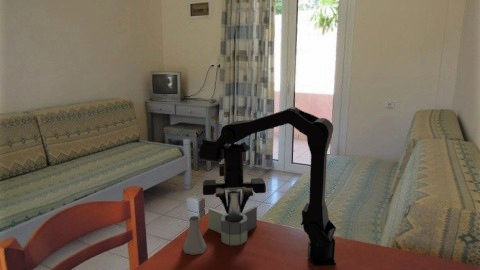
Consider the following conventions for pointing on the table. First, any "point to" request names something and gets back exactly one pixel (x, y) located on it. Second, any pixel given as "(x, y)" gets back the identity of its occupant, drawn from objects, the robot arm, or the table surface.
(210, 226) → the pale green bracket
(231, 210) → the pin
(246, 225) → the grey hollow faceted fixture
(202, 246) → the flask
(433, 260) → the table surface
